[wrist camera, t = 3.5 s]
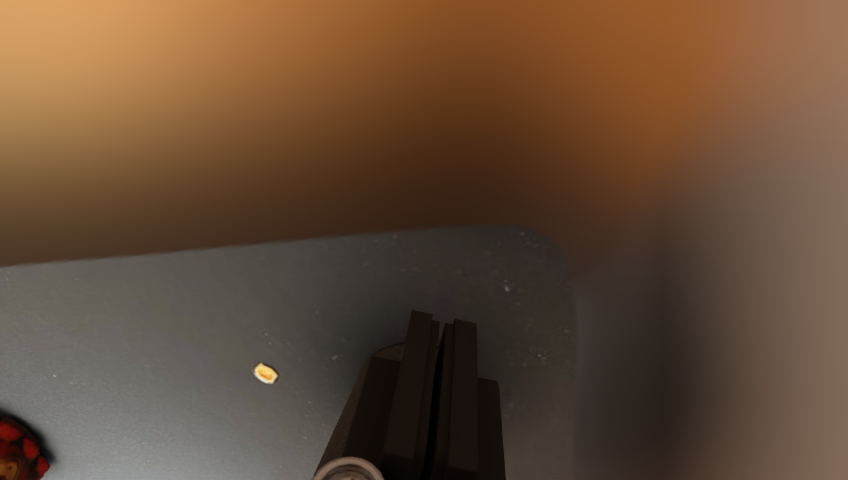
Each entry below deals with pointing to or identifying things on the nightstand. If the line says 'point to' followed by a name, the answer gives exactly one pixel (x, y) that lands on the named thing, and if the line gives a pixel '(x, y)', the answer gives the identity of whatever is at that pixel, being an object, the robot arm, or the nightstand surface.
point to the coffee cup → (354, 408)
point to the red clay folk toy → (19, 453)
